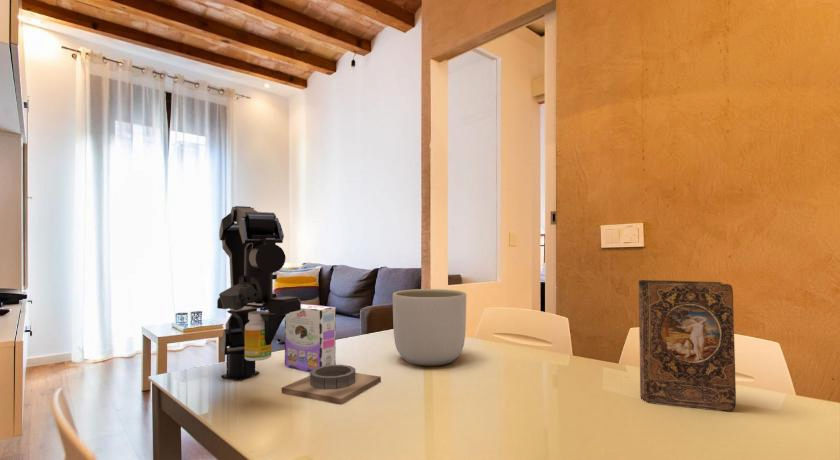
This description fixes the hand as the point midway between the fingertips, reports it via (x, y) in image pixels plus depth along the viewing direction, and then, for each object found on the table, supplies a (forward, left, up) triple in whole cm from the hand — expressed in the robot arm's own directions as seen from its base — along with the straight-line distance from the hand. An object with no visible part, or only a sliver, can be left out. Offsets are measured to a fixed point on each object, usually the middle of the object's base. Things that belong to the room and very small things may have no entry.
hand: (258, 343), depth 92 cm
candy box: (-5, +23, -12) cm, 26 cm away
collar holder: (+10, +13, -12) cm, 20 cm away
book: (+82, +36, -12) cm, 90 cm away
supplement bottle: (0, 0, -3) cm, 3 cm away
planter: (+21, +43, -12) cm, 49 cm away
